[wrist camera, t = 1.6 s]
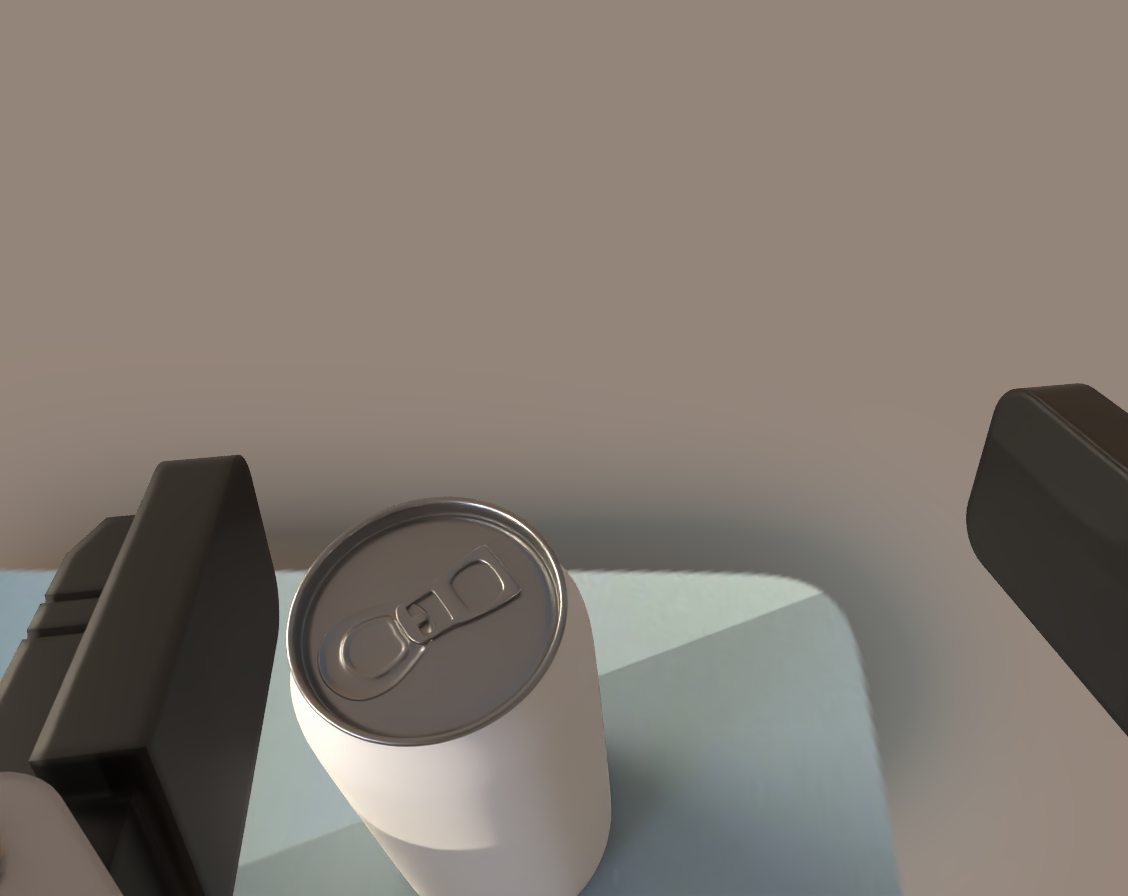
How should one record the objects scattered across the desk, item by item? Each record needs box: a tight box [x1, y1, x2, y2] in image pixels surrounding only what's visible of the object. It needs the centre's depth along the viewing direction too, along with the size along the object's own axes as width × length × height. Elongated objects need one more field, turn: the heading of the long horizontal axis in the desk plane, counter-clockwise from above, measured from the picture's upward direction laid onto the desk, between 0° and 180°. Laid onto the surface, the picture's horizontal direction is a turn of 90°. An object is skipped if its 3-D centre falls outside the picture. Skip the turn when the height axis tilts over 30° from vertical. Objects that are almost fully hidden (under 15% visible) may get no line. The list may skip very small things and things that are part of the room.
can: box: [286, 497, 611, 896], centre depth 22 cm, size 6×6×12 cm
